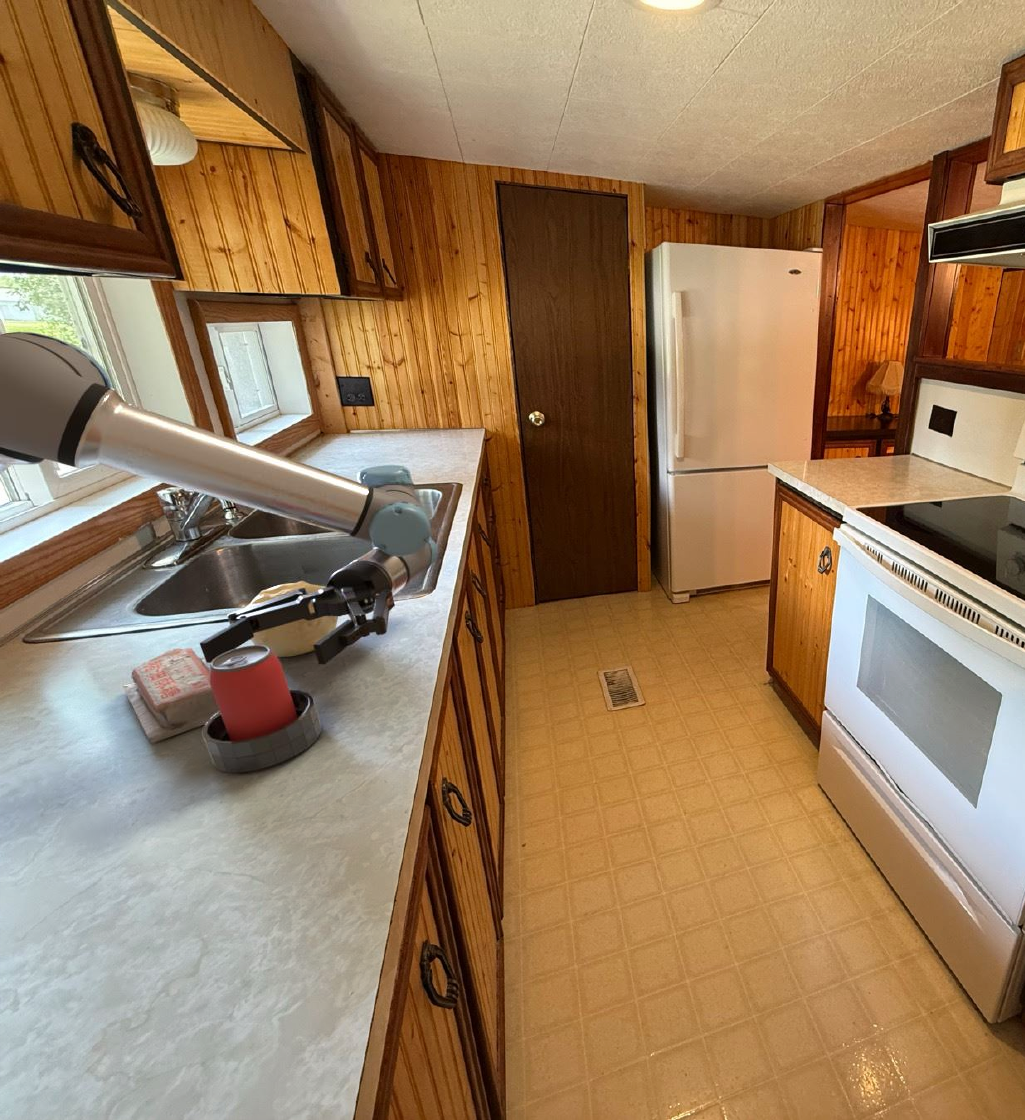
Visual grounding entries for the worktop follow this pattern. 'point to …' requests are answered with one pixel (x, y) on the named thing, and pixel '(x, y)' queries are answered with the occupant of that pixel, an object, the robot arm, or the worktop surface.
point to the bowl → (263, 739)
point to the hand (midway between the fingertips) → (262, 654)
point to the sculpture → (293, 625)
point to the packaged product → (172, 694)
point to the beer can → (251, 692)
